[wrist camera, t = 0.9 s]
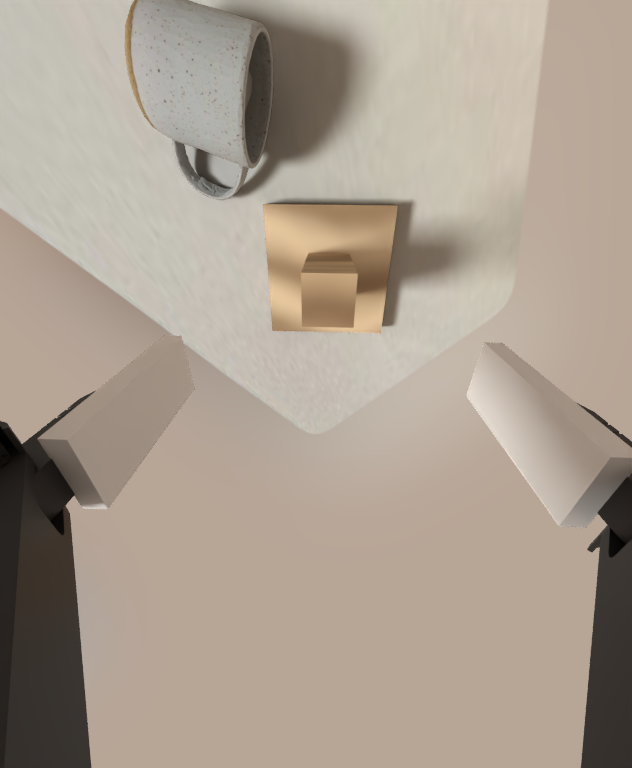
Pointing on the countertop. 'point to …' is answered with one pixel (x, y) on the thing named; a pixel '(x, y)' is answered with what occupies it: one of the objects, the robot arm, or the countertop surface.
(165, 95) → the ceramic mug
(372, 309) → the wooden plaque with block
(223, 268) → the countertop surface
